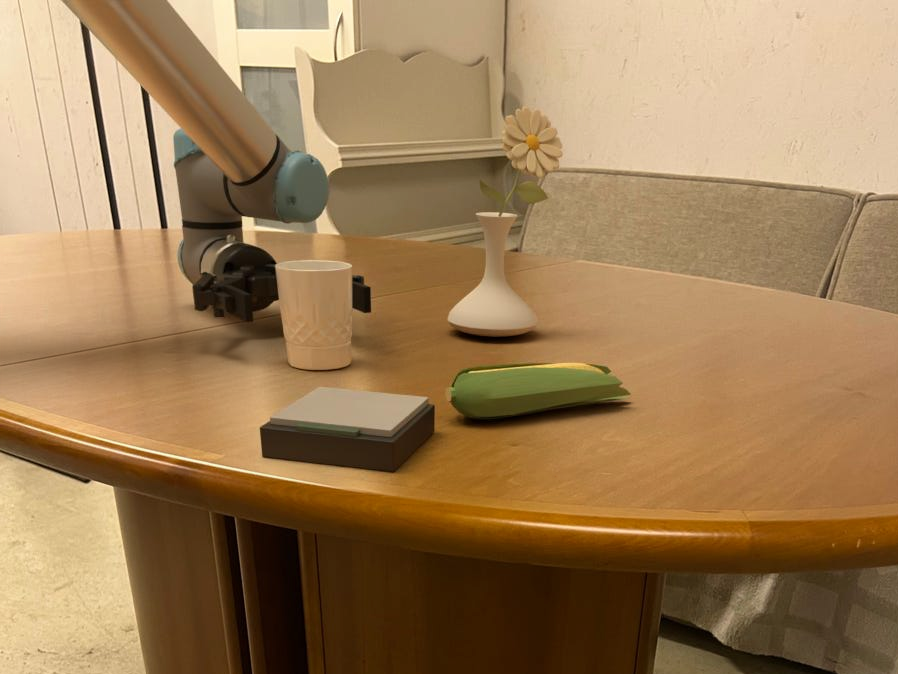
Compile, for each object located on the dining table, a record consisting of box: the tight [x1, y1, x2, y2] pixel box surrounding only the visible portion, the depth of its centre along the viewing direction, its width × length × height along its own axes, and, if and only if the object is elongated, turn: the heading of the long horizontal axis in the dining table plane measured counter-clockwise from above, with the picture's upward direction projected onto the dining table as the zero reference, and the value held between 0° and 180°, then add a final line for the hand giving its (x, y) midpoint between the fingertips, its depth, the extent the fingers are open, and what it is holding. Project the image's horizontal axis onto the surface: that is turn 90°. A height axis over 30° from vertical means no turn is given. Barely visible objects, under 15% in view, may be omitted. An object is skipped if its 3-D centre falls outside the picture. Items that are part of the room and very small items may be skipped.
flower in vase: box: [446, 106, 563, 338], centre depth 111 cm, size 13×11×25 cm
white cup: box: [275, 259, 353, 371], centre depth 98 cm, size 8×8×10 cm
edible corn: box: [444, 362, 632, 421], centre depth 86 cm, size 5×20×5 cm, turn 118°
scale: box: [259, 386, 436, 473], centre depth 76 cm, size 11×11×3 cm
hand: (310, 304), depth 99 cm, fingers open, 13 cm apart
